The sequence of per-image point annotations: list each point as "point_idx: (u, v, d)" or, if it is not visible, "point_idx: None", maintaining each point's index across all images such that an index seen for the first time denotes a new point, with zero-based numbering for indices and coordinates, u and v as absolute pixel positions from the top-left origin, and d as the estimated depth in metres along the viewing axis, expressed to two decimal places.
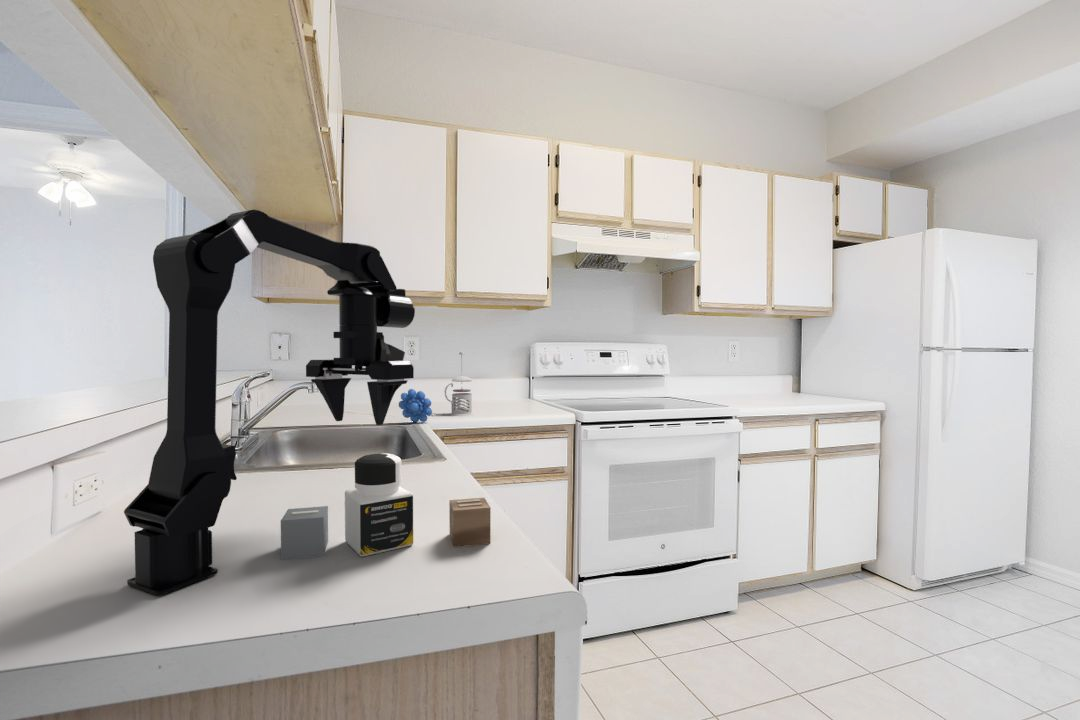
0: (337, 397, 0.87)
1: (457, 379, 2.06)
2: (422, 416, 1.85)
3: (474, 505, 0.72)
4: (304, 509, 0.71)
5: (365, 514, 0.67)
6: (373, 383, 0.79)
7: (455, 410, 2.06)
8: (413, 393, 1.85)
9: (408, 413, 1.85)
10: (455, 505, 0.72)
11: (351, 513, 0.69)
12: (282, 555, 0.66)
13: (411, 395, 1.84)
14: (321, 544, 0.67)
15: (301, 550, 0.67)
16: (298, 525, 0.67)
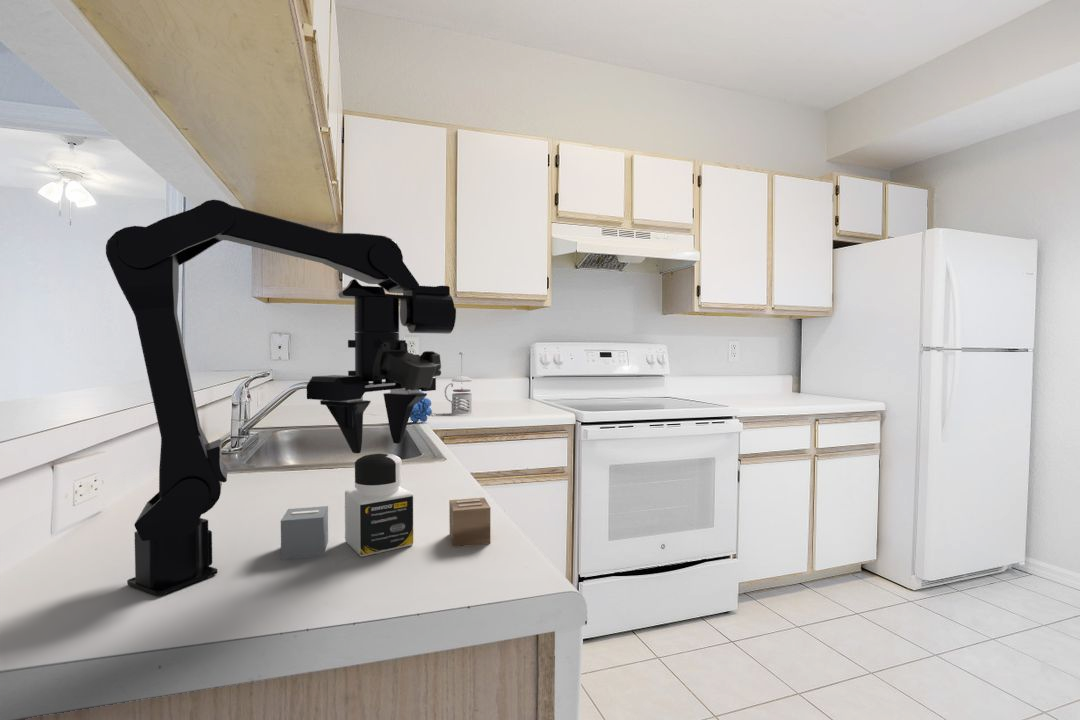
0: (396, 415, 0.75)
1: (457, 379, 2.06)
2: (422, 416, 1.85)
3: (474, 505, 0.72)
4: (304, 509, 0.71)
5: (365, 514, 0.67)
6: None
7: (455, 410, 2.06)
8: None
9: None
10: (455, 505, 0.72)
11: (351, 513, 0.69)
12: (282, 555, 0.66)
13: None
14: (321, 544, 0.67)
15: (301, 550, 0.67)
16: (298, 525, 0.67)
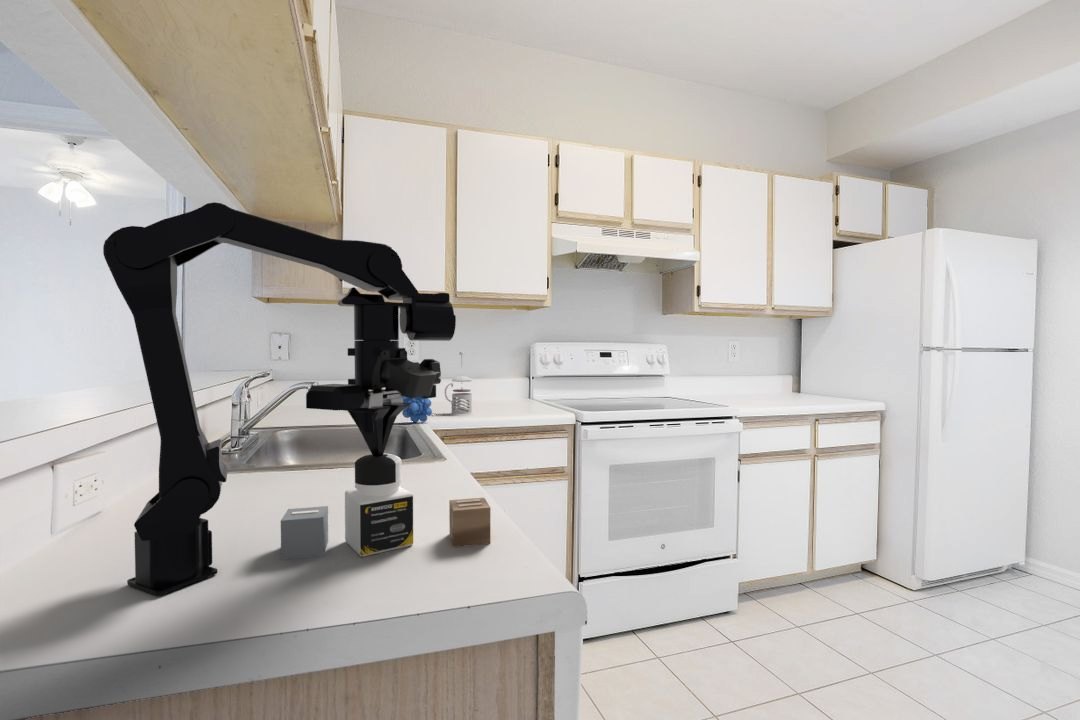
0: None
1: (457, 379, 2.06)
2: (422, 416, 1.85)
3: (474, 505, 0.72)
4: (304, 509, 0.71)
5: (365, 514, 0.67)
6: None
7: (455, 410, 2.06)
8: None
9: (408, 413, 1.85)
10: (455, 505, 0.72)
11: (351, 513, 0.69)
12: (282, 555, 0.66)
13: None
14: (321, 544, 0.67)
15: (301, 550, 0.67)
16: (298, 525, 0.67)
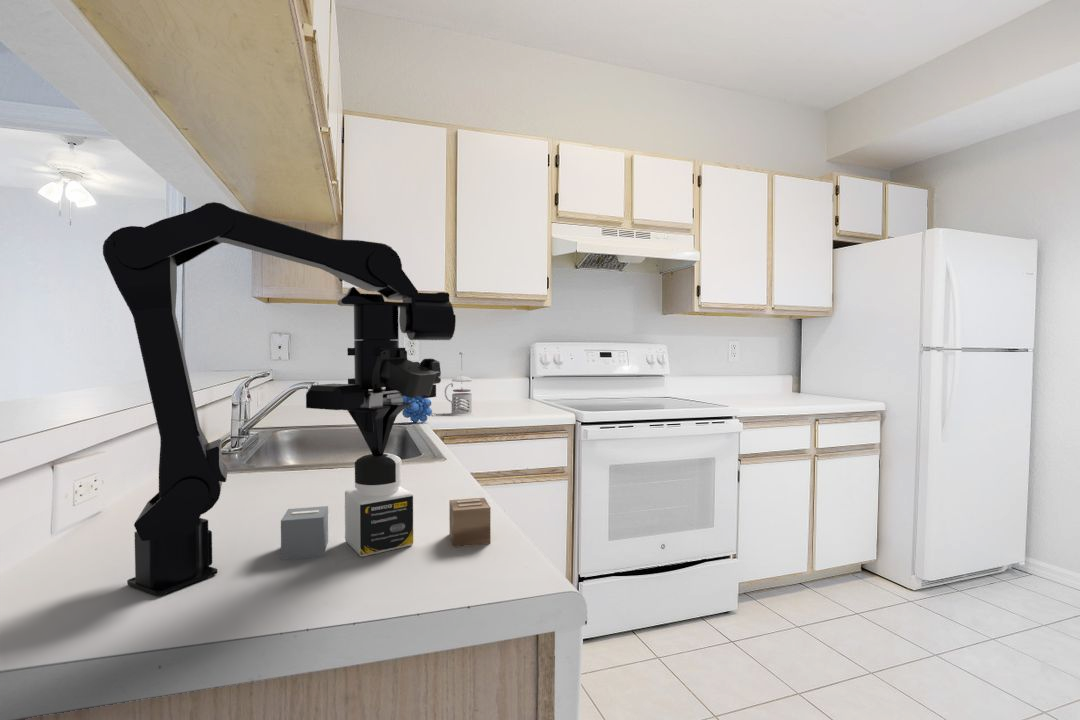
0: None
1: (457, 379, 2.06)
2: (422, 416, 1.85)
3: (474, 505, 0.72)
4: (304, 509, 0.71)
5: (364, 514, 0.67)
6: None
7: (455, 410, 2.06)
8: None
9: (408, 413, 1.85)
10: (455, 505, 0.72)
11: (351, 513, 0.69)
12: (282, 555, 0.66)
13: None
14: (321, 544, 0.67)
15: (301, 550, 0.67)
16: (298, 525, 0.67)
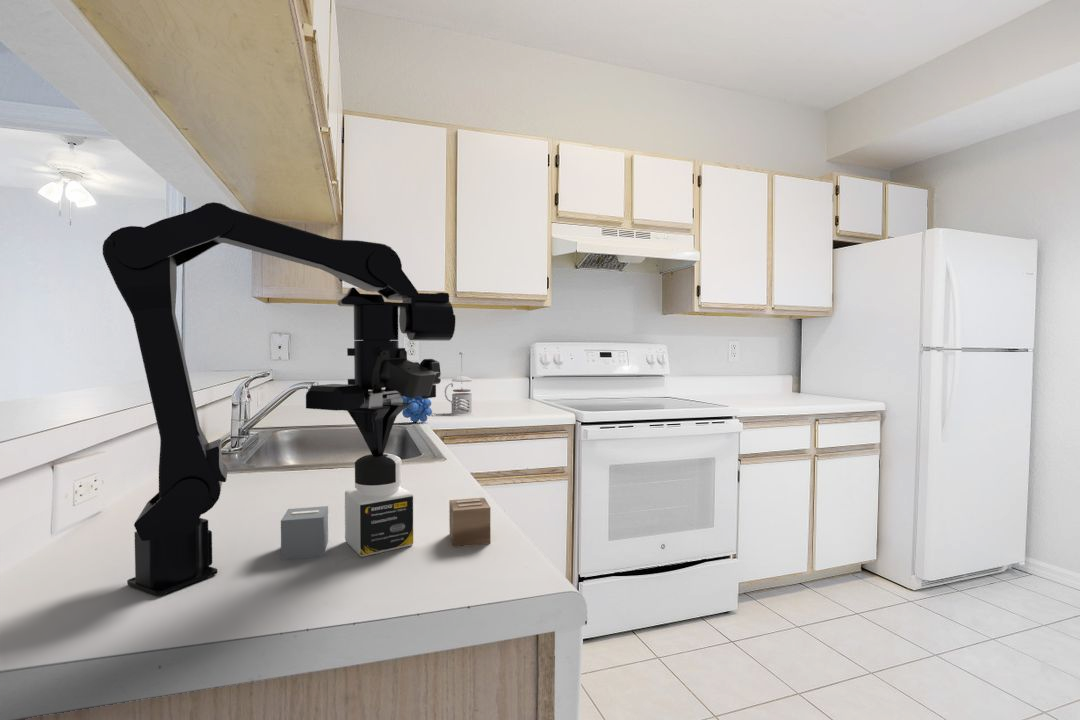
0: None
1: (457, 379, 2.06)
2: (422, 416, 1.85)
3: (474, 505, 0.72)
4: (304, 509, 0.71)
5: (365, 514, 0.67)
6: None
7: (455, 410, 2.06)
8: None
9: (408, 413, 1.85)
10: (455, 505, 0.72)
11: (351, 513, 0.69)
12: (282, 555, 0.66)
13: None
14: (321, 544, 0.67)
15: (301, 550, 0.67)
16: (298, 525, 0.67)
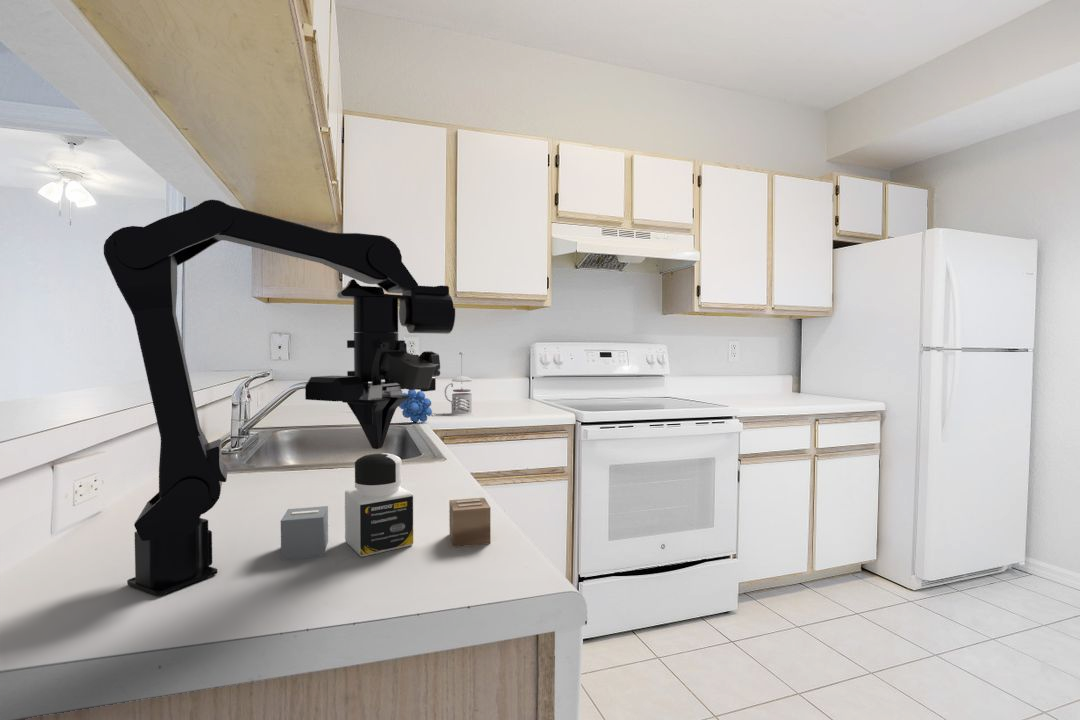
0: None
1: (457, 379, 2.06)
2: (422, 416, 1.85)
3: (474, 505, 0.72)
4: (304, 509, 0.71)
5: (365, 514, 0.67)
6: None
7: (455, 410, 2.06)
8: (413, 393, 1.85)
9: (408, 413, 1.85)
10: (455, 505, 0.72)
11: (351, 513, 0.69)
12: (282, 555, 0.66)
13: (411, 395, 1.84)
14: (321, 544, 0.67)
15: (301, 550, 0.67)
16: (298, 525, 0.67)
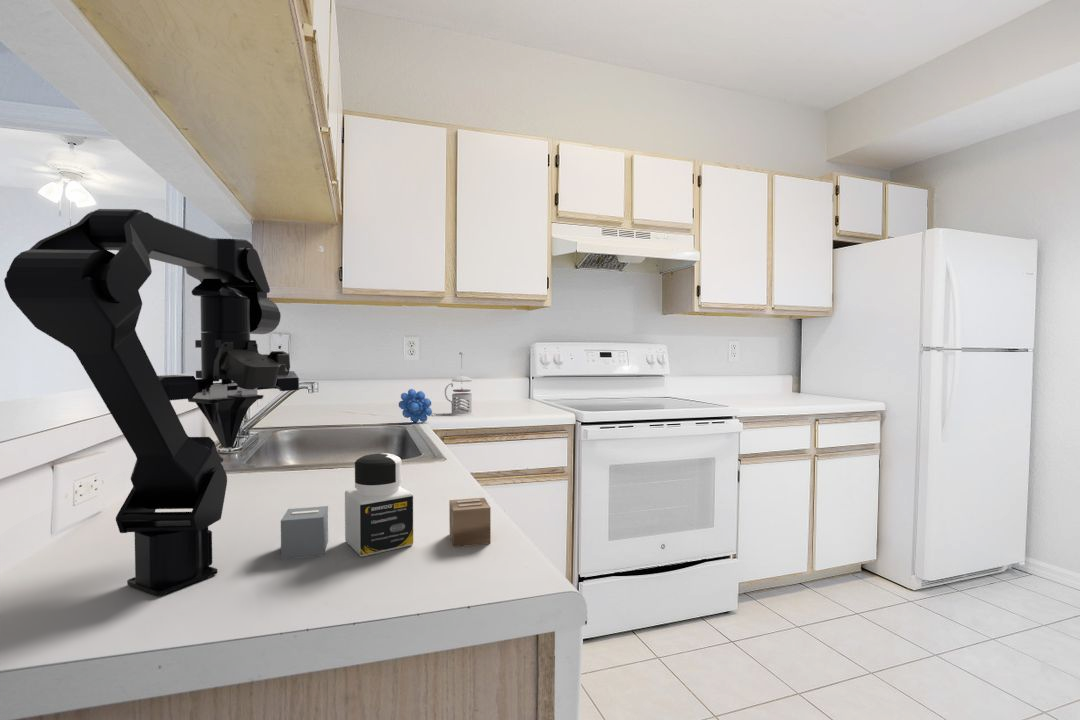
0: None
1: (457, 379, 2.06)
2: (422, 416, 1.85)
3: (474, 505, 0.72)
4: (304, 509, 0.71)
5: (365, 514, 0.67)
6: None
7: (455, 410, 2.06)
8: (413, 393, 1.85)
9: (408, 413, 1.85)
10: (455, 505, 0.72)
11: (351, 513, 0.69)
12: (282, 555, 0.66)
13: (411, 395, 1.84)
14: (321, 544, 0.67)
15: (301, 550, 0.67)
16: (298, 525, 0.67)
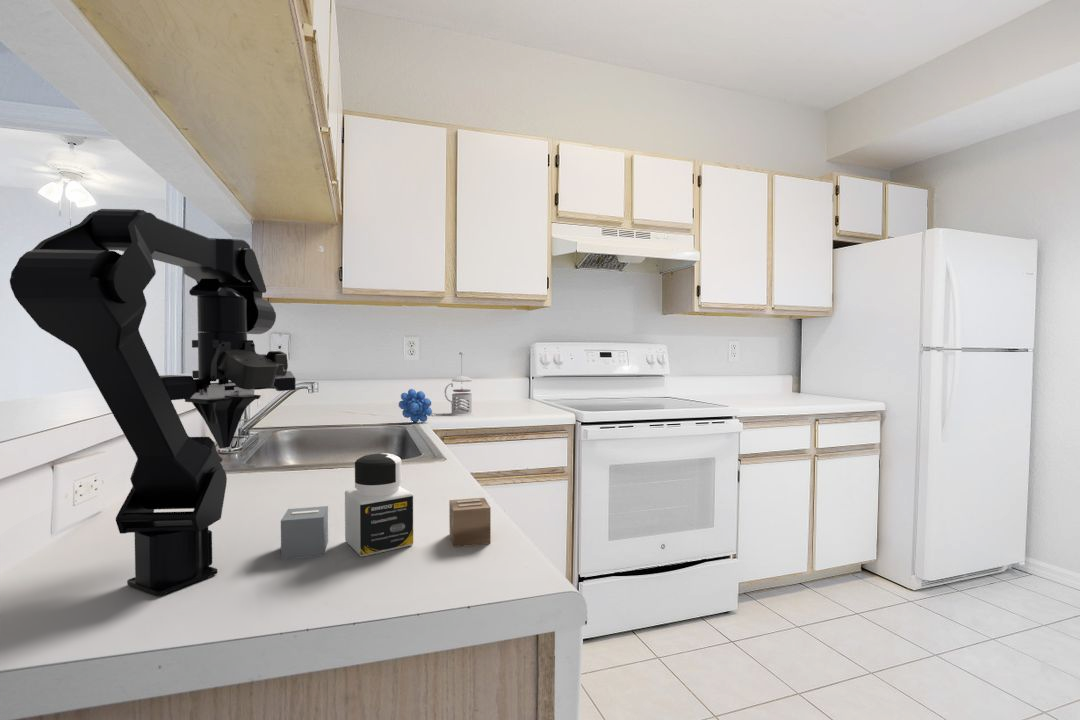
0: None
1: (457, 379, 2.06)
2: (422, 416, 1.85)
3: (474, 505, 0.72)
4: (304, 509, 0.71)
5: (365, 514, 0.67)
6: None
7: (455, 410, 2.06)
8: (413, 393, 1.85)
9: (408, 413, 1.85)
10: (455, 505, 0.72)
11: (351, 513, 0.69)
12: (282, 555, 0.66)
13: (411, 395, 1.84)
14: (321, 544, 0.67)
15: (301, 550, 0.67)
16: (298, 525, 0.67)
